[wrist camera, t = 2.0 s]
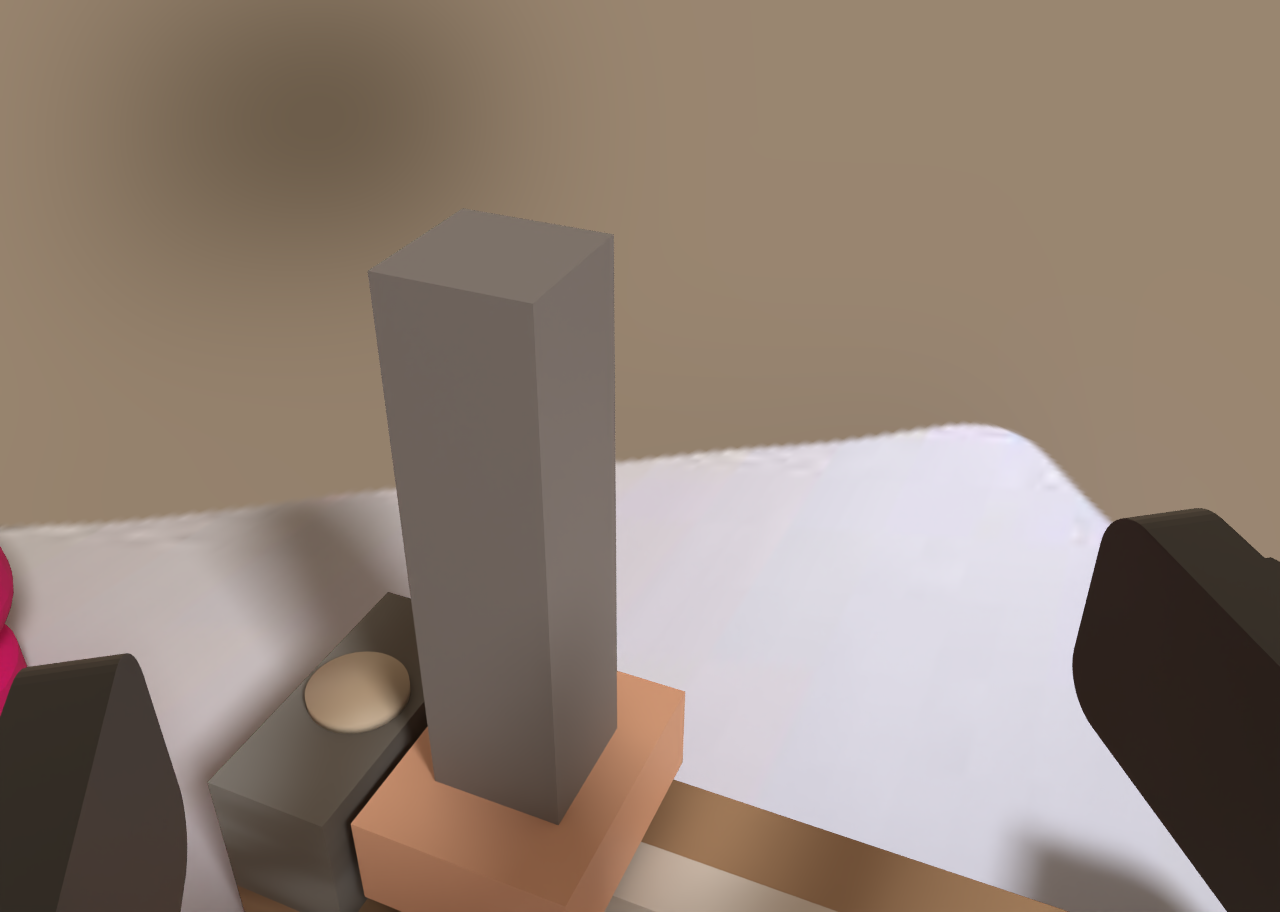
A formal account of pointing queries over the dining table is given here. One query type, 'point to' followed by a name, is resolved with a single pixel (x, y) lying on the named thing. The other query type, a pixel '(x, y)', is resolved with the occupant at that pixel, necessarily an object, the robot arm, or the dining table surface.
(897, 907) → the rail
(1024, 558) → the dining table surface
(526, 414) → the carriage
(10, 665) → the pepper mill
